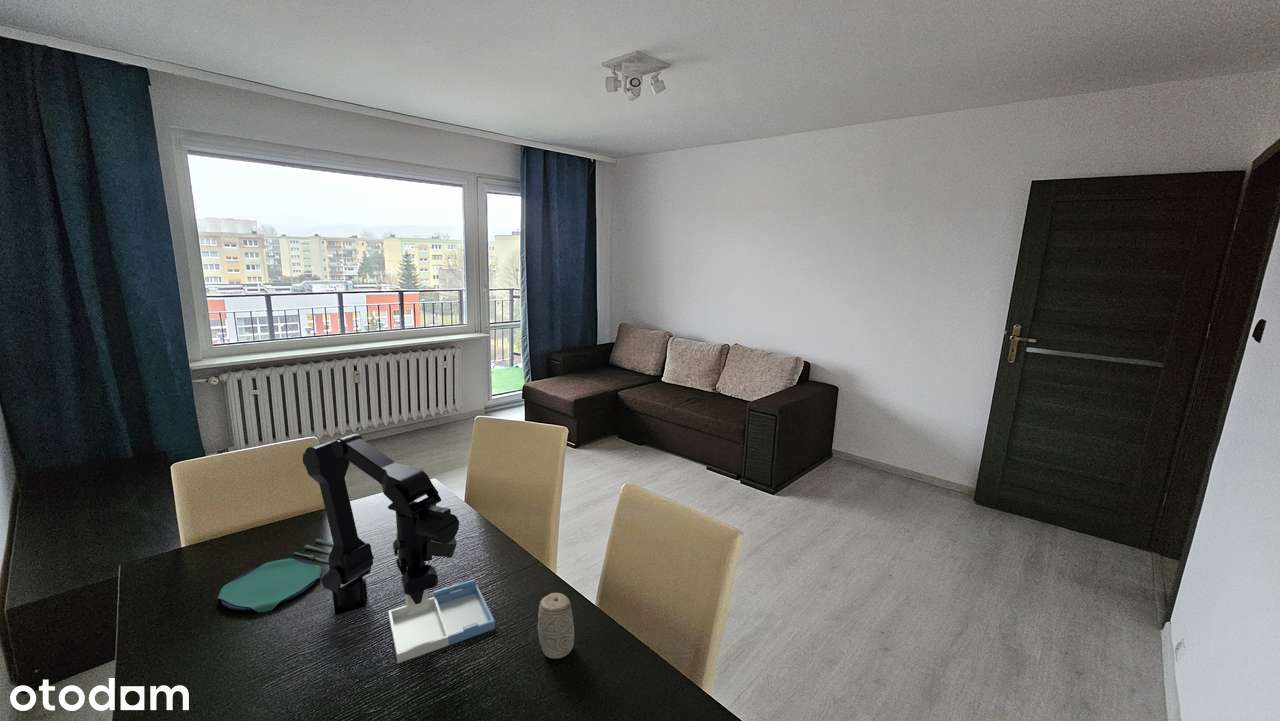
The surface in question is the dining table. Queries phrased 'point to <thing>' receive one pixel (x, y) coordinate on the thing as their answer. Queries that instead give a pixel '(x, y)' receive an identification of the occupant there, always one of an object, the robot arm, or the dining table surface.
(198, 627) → the dining table surface
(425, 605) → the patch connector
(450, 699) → the dining table surface
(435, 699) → the dining table surface
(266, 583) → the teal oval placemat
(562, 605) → the carving
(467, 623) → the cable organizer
